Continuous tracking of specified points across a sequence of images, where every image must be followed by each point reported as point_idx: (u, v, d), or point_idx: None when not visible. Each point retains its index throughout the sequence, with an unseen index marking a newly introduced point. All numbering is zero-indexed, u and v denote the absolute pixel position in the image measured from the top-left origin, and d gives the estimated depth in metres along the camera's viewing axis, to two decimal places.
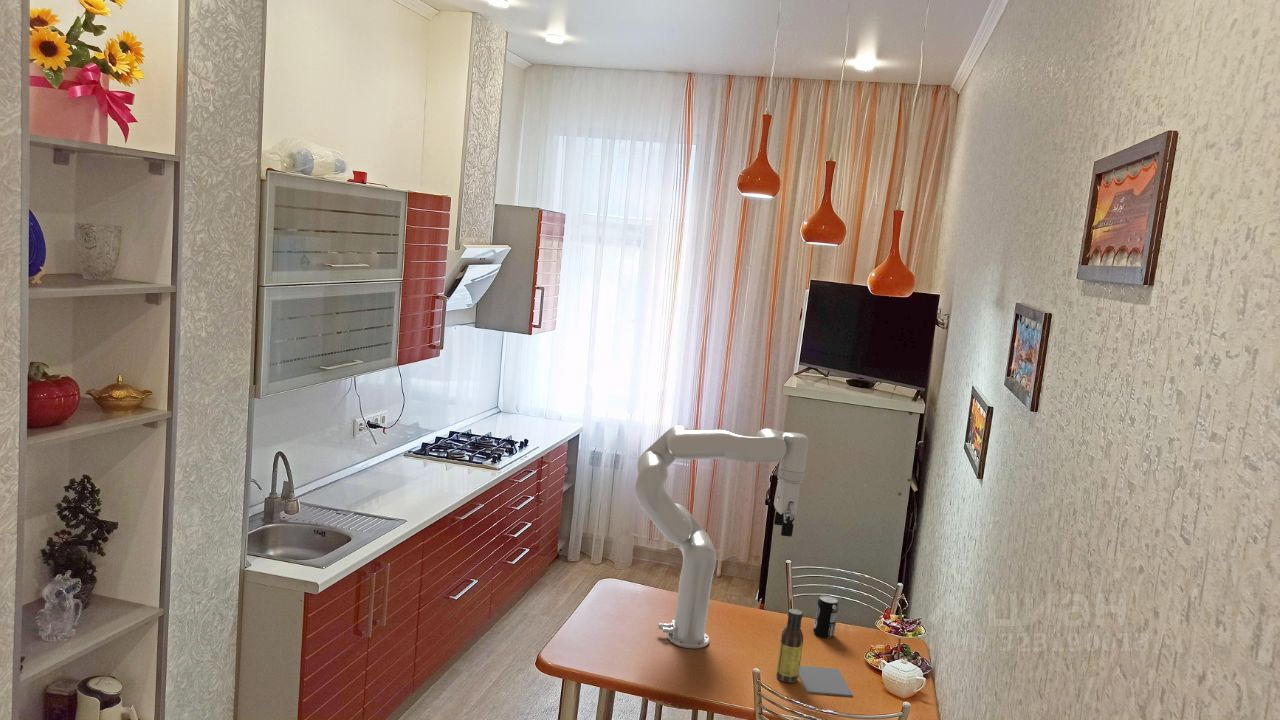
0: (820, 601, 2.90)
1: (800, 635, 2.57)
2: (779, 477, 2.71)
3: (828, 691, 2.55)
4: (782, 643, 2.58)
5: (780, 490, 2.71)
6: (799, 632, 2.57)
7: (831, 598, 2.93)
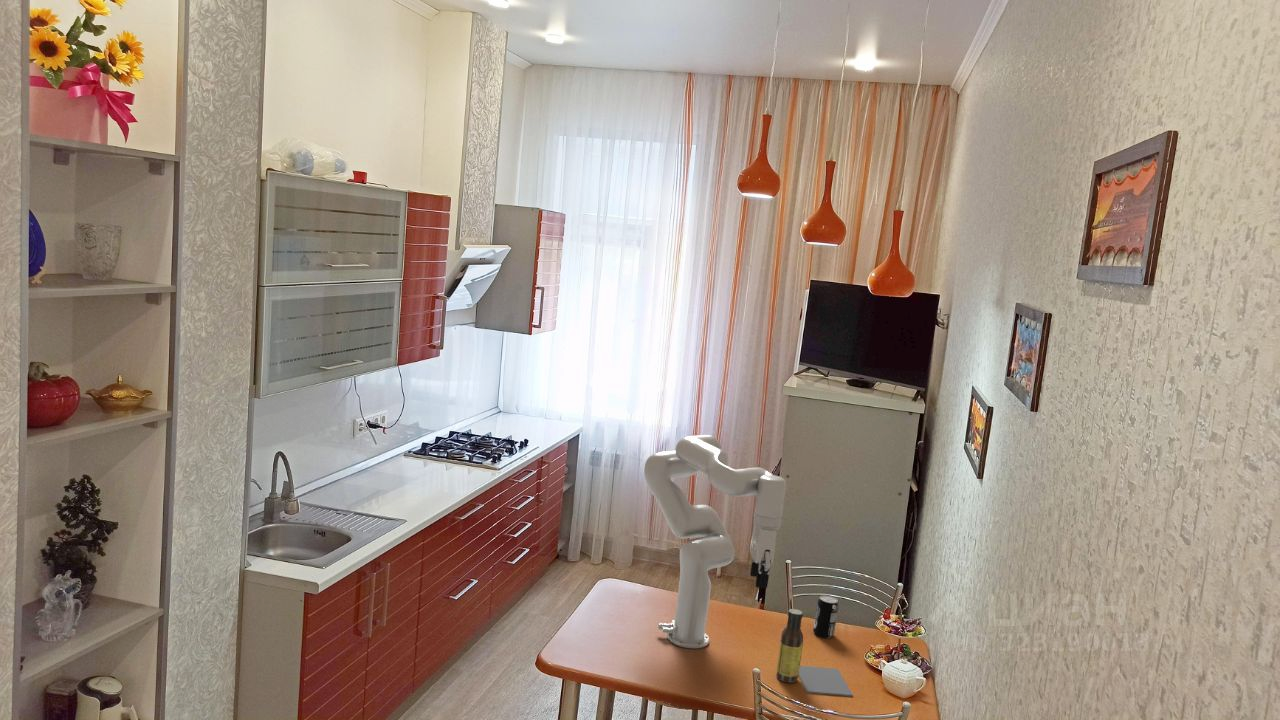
0: (820, 601, 2.90)
1: (800, 635, 2.57)
2: (754, 523, 2.52)
3: (828, 691, 2.55)
4: (782, 643, 2.58)
5: (756, 537, 2.52)
6: (799, 632, 2.57)
7: (831, 598, 2.93)
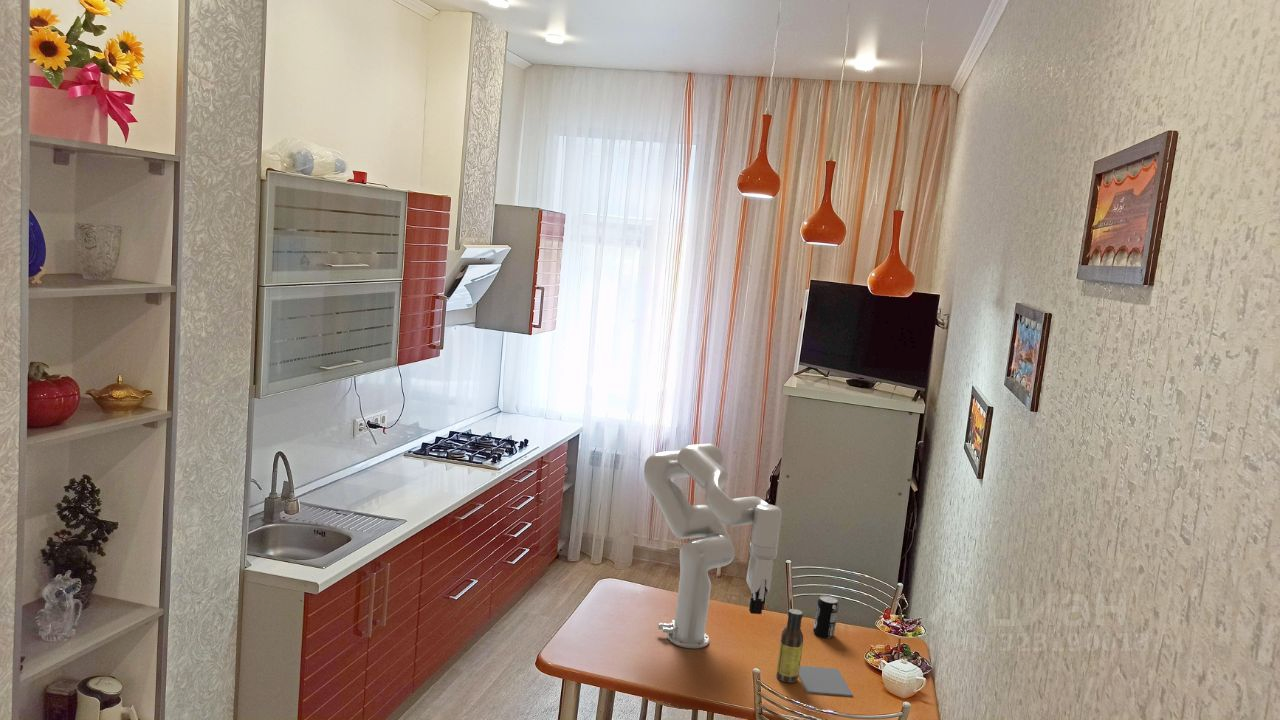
0: (820, 601, 2.90)
1: (800, 635, 2.57)
2: (751, 552, 2.53)
3: (828, 691, 2.55)
4: (782, 643, 2.58)
5: (752, 566, 2.53)
6: (799, 632, 2.57)
7: (831, 598, 2.93)
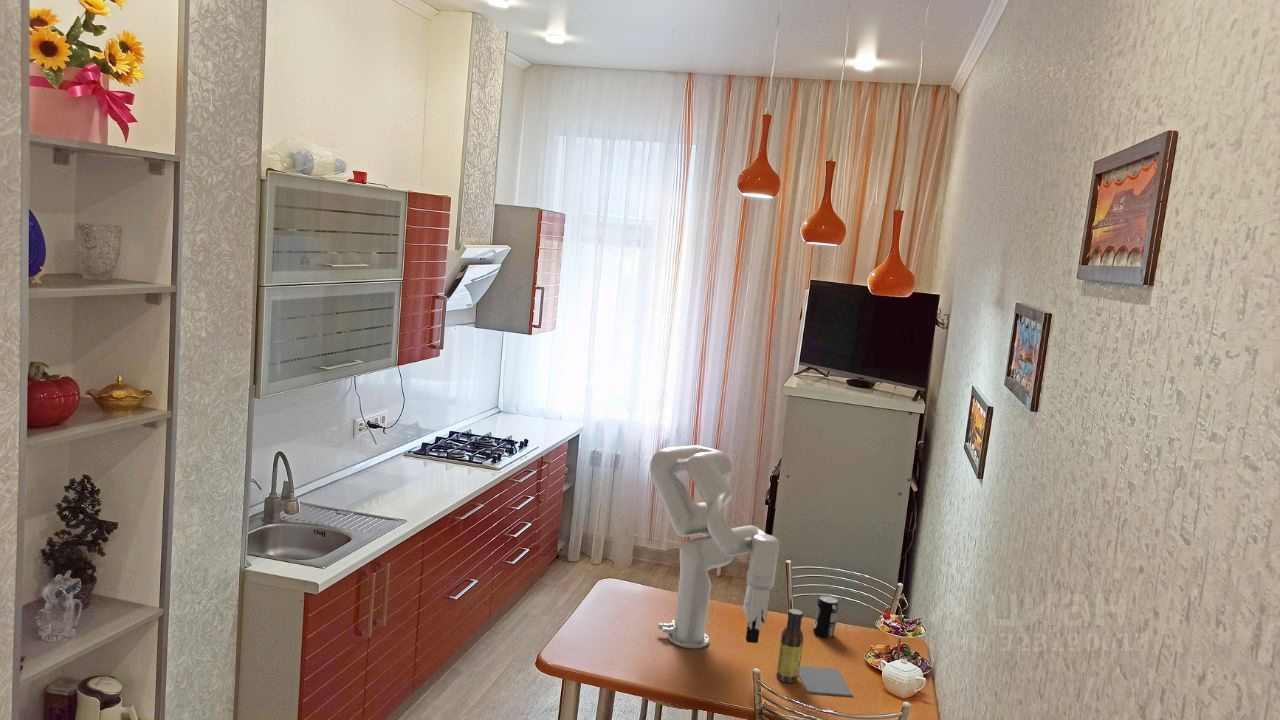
0: (820, 601, 2.90)
1: (800, 635, 2.57)
2: (748, 582, 2.54)
3: (828, 691, 2.55)
4: (782, 643, 2.58)
5: (749, 596, 2.54)
6: (799, 632, 2.57)
7: (831, 598, 2.93)
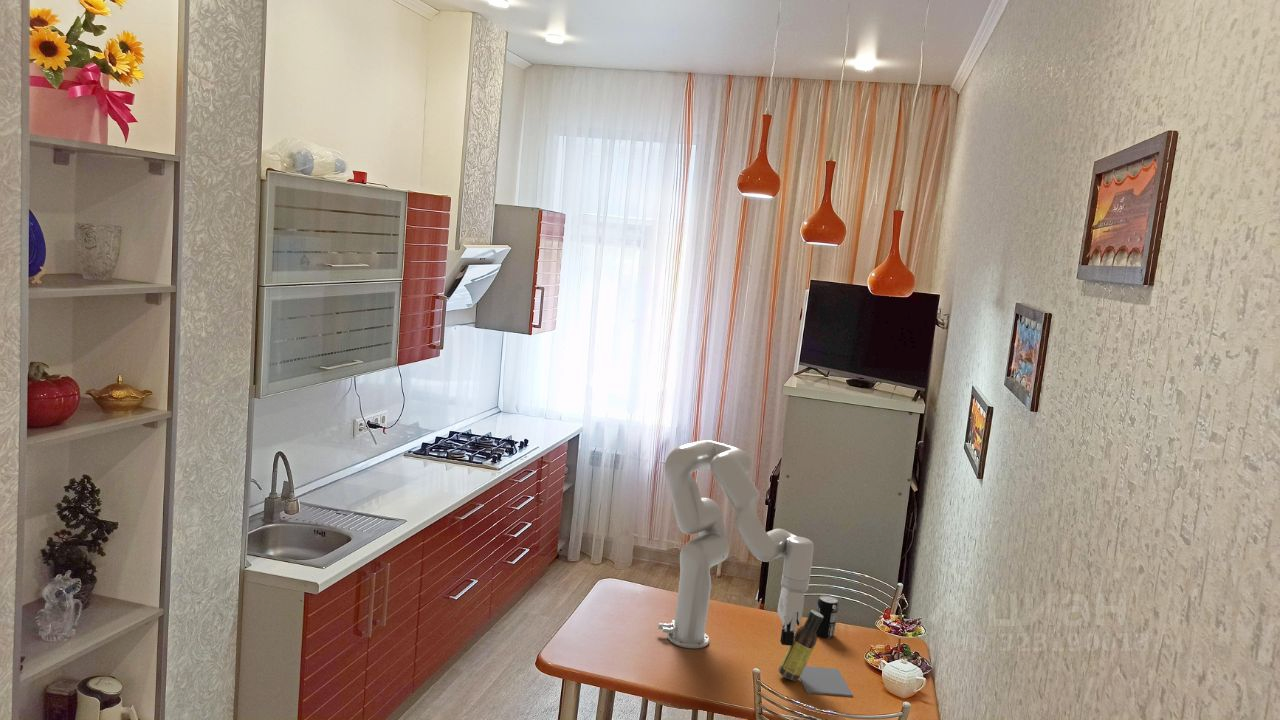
0: (820, 601, 2.90)
1: (815, 637, 2.57)
2: (783, 585, 2.55)
3: (828, 691, 2.55)
4: (795, 640, 2.58)
5: (784, 598, 2.55)
6: (815, 634, 2.57)
7: (831, 598, 2.93)
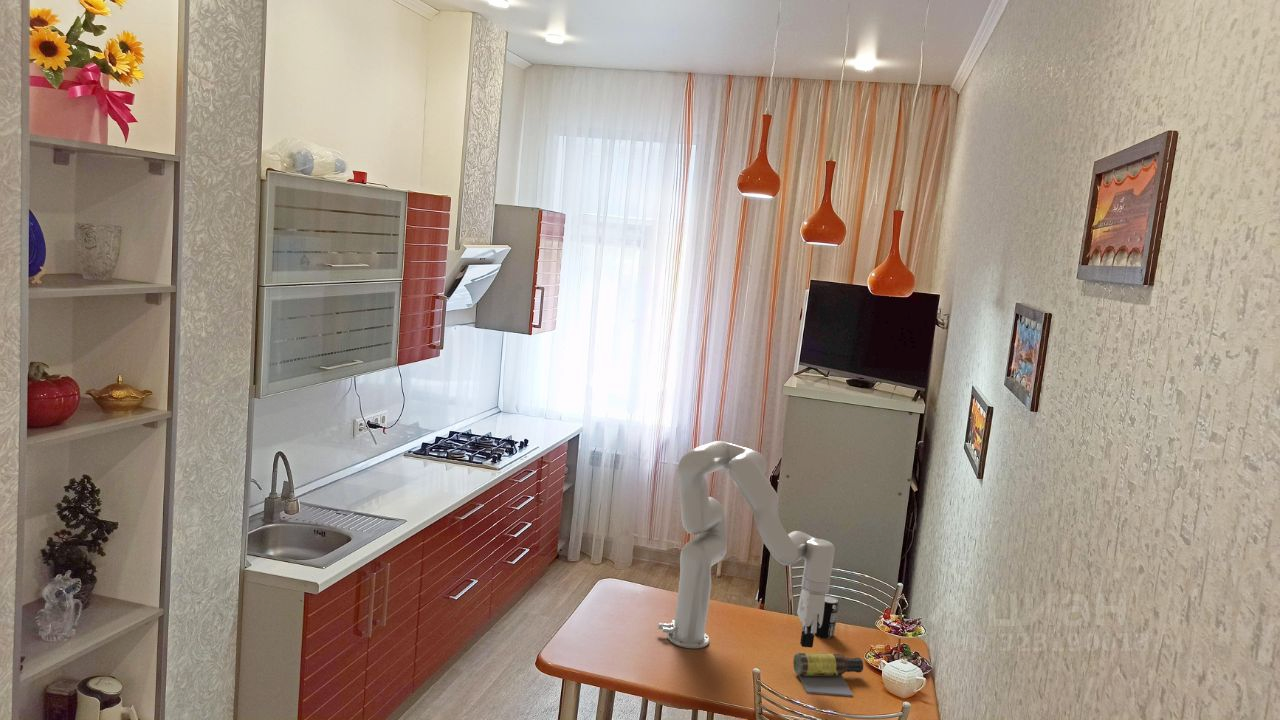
0: None
1: (844, 670, 2.63)
2: (803, 587, 2.55)
3: (828, 691, 2.55)
4: (831, 653, 2.65)
5: (804, 601, 2.56)
6: (846, 669, 2.63)
7: (831, 598, 2.93)
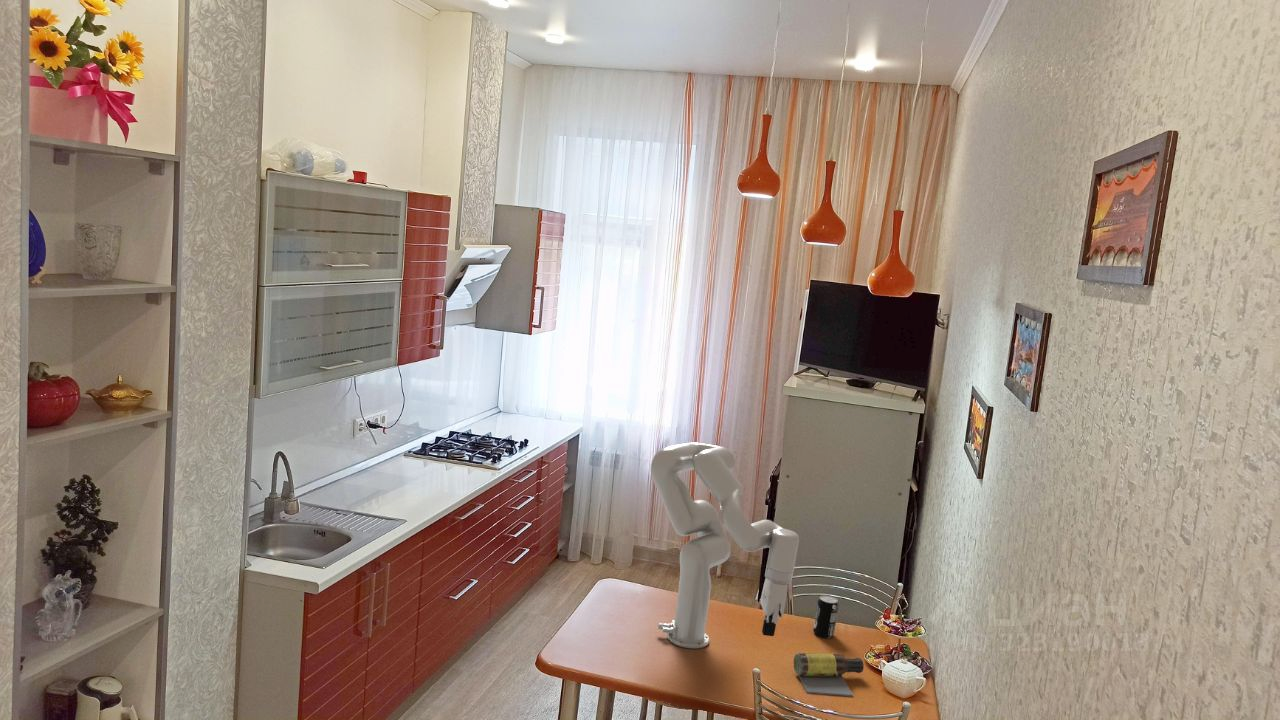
0: (820, 601, 2.90)
1: (845, 670, 2.63)
2: (766, 576, 2.56)
3: (828, 691, 2.55)
4: (832, 654, 2.64)
5: (767, 590, 2.56)
6: (846, 669, 2.63)
7: (831, 598, 2.93)
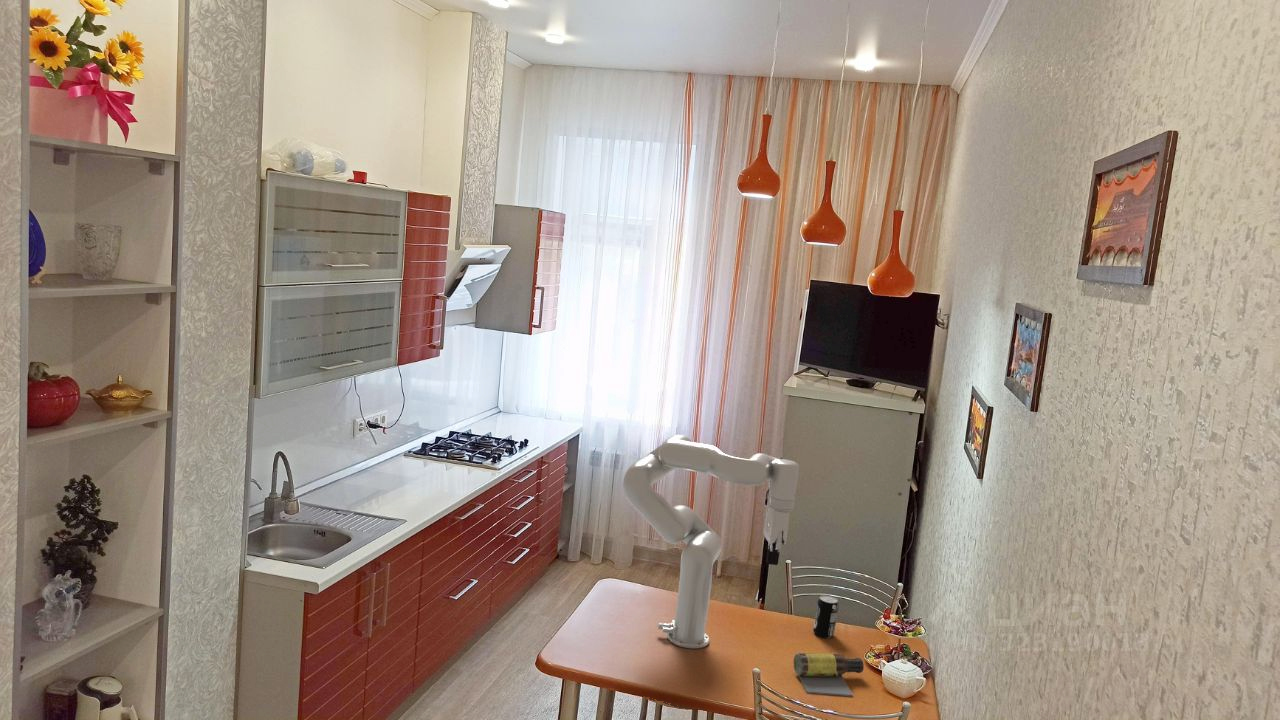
0: (820, 601, 2.90)
1: (845, 670, 2.63)
2: (768, 505, 2.63)
3: (828, 691, 2.55)
4: (832, 654, 2.64)
5: (769, 519, 2.63)
6: (846, 669, 2.63)
7: (831, 598, 2.93)
